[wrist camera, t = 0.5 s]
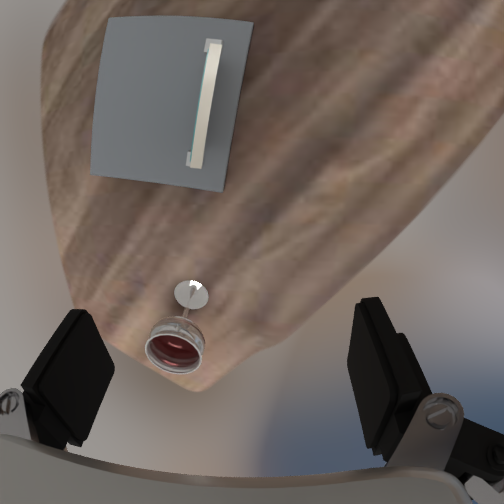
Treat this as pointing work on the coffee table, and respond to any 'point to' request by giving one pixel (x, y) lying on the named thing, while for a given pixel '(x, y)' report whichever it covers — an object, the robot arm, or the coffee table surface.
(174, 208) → the coffee table surface
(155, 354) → the wineglass
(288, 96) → the coffee table surface
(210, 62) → the tile
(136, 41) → the board
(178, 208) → the coffee table surface
